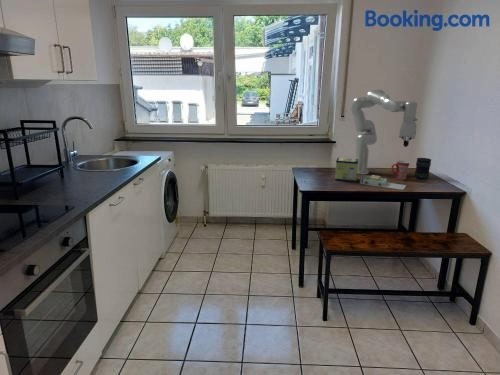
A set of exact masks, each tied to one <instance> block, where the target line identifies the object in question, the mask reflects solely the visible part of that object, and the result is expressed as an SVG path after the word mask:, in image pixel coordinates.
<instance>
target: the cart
mask: <svg viewBox="0 0 500 375" xmlns="http://www.w3.org/2000/svg"><path fill="white" fill-rule="evenodd" d="M387 180H388V179H387V178H383V177H380V181H374V180H370V176H367V175H366V178H364V179H363V183H365V184H364V185H366V183H368V184H374V185H379V186H380V185H381V186H383V185H384V184H385V183H386V182H387ZM379 186H378V187H379Z"/></svg>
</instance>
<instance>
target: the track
mask: <svg viewBox="0 0 500 375" xmlns="http://www.w3.org/2000/svg"><path fill="white" fill-rule="evenodd" d="M366 177H367V174H363V176H361V177H360V180H359V184H360V185H366V186H374V187H380V188H381V187H382V188H386V189H392V190H399V191H404V190H405V188H406V187H407V185H405V184H399V183H392V182H387V181H386V183H385V184H384V185H383V186H381V185H380V186H379V185H374V184H368V183H366V184H365V183H363V179H364V178H366Z"/></svg>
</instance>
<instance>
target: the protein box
mask: <svg viewBox="0 0 500 375" xmlns="http://www.w3.org/2000/svg"><path fill="white" fill-rule="evenodd" d="M357 169H358V159H356V158H347V157H337V159H336V161H335V175H334V176H335V177H334V181H336V182H337V181H339V182H348V183H349V182H351V183H357V179H358V174H357Z"/></svg>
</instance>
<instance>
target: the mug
mask: <svg viewBox="0 0 500 375" xmlns="http://www.w3.org/2000/svg"><path fill="white" fill-rule="evenodd" d="M410 163H411V162H410V161H407V160H397V161H396V163H393V164H392V165H391V171H392V174H394V176H395V180H397V181H406V180H407V176H408V171H409V166H410ZM394 167H395V169H396V170H394Z"/></svg>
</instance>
